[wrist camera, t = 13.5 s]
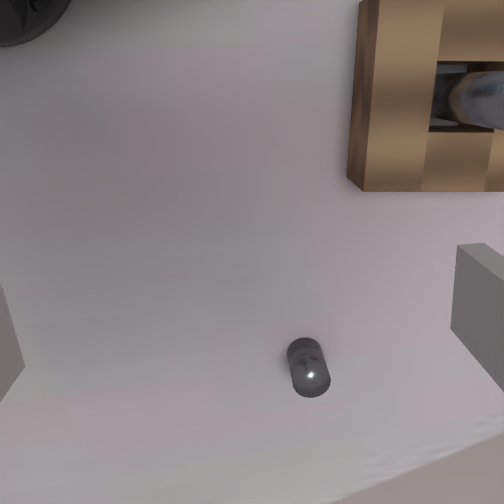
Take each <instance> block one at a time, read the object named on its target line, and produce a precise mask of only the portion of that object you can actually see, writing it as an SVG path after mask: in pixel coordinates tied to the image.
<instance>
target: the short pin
mask: <svg viewBox="0 0 504 504" xmlns="http://www.w3.org/2000/svg"><path fill="white" fill-rule="evenodd" d="M287 356H288V361H289V367H290V372H291V377H292V382H293V387H294V389H295V391H296V392H297V393H298V394H299V395H301V396H304V397H308V398H313V397H317V396H320V395H322V394H323V393H325V392H326V391H327V389H328V388H329V386H330V382H331V379H330V375H329V372H328V369H327V366H326V362H325V359H324V356H323V353H322V350H321V347H320V345H319V343H318V342H317V341H315V340H313V339H311V338H300V339H297V340H295V341H294V342H292V343H291V345H290V346H289V348H288V351H287Z"/></svg>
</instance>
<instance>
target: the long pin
mask: <svg viewBox="0 0 504 504" xmlns="http://www.w3.org/2000/svg"><path fill="white" fill-rule="evenodd" d="M430 117H432V118H437V119H443V120H449V121H454V122H460V123H465V124H471V125H476V126H482V127H488V128H493V129H499V130H504V71H492V72H468V73H445V74H436V75H435V83H434V91H433V99H432V107H431V114H430Z"/></svg>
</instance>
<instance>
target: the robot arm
mask: <svg viewBox="0 0 504 504" xmlns="http://www.w3.org/2000/svg"><path fill="white" fill-rule="evenodd" d="M70 1H71V0H0V47H5V46H12V45H17V44H21V43H24V42H27V41H29V40H32V39H34V38H36V37H37V36H39V35H41V34H42V33H44V32H45V31H46V30H48V29H49V28H50V27H51V26H52V25H54V23H55V22H56V21H57V20H58V19H59V18H60V17H61V16H62V14H63V13H64V11H65V10H66V8H67V7H68V5H69V3H70ZM450 329H451V330H452V331H453V332H454V333H455V335H456V336H457V337H458V338H459V339H460V341H461V342H462V343H463V344H464V345H465V346H466V348H467V349H468V350H469V351H470V352H471V354H472V355H473V356H474V357H475V358H476V360H477V361H478V362H479V363H480V364H481V365H482V367H483V368H484V369H485V370H486V371H487V373H488V374H489V375H490V376H491V377H492V378H493V380H494V381H495V382H496V383H497V384H498V386H499V387H500V388H501V389H502V390H503V392H504V257H503V256H502V255H501V254H499V253H498V252H496V251H495V250H493V249H492V248H490V247H489V246H487V245H486V244H485V243H476V244H464V245H457V254H456V266H455V279H454V291H453V303H452V315H451V328H450ZM24 367H25V364H24V360H23V357H22V353H21V350H20V347H19V343H18V340H17V336H16V333H15V329H14V326H13V323H12V319H11V316H10V312H9V309H8V305H7V302H6V299H5V295H4V292H3V288H2V285H0V402H1V400H2V399H3V397H4V396H5V394H6V393H7V392H8V390H9V389H10V387H11V386H12V384H13V383H14V382H15V380H16V379H17V377H18V376H19V374H20V373H21V371H22V370H23V369H24Z"/></svg>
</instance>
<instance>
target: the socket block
mask: <svg viewBox="0 0 504 504" xmlns="http://www.w3.org/2000/svg"><path fill="white" fill-rule="evenodd" d="M437 64H468V67H467V73H468V72H492V71H504V0H363V1H361V2H360V3H359V17H358V30H357V44H356V57H355V71H354V84H353V98H352V112H351V125H350V139H349V152H348V166H347V178H348V179H349V180H351V181H352V182H353V183H354V184H355V185H356V186H358V187H359V188H360V189H361V190H362V191H363V192H504V130H499V129H493V128H488V127H482V126H476V125H471V124H465V123H460V122H459V126H429V122H430V114H431V107H432V99H433V91H434V83H435V75H436V67H437Z"/></svg>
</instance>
